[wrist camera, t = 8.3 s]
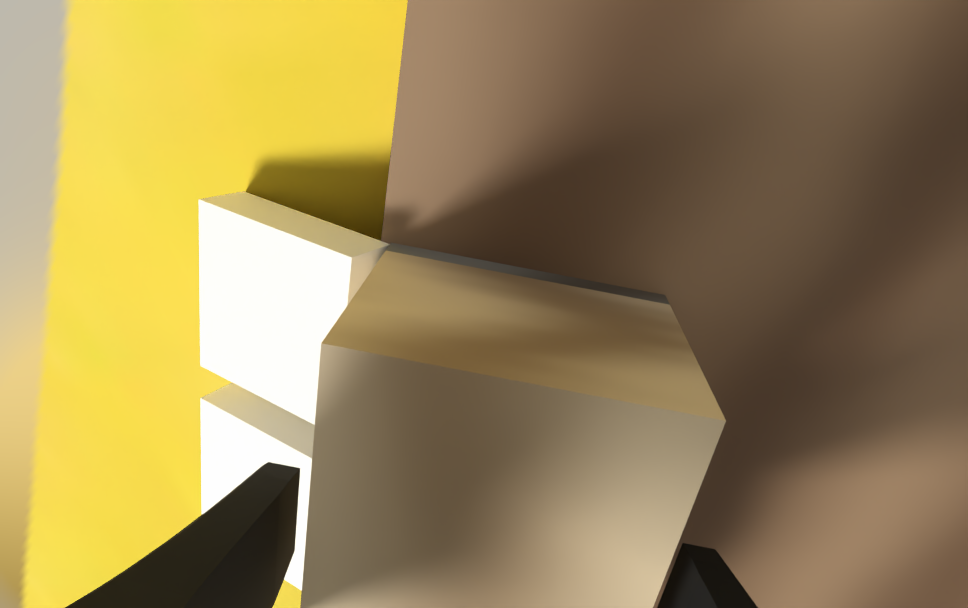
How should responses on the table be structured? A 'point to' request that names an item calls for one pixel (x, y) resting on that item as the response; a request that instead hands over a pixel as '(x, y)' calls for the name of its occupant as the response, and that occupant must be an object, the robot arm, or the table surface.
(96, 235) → the table surface
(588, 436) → the block
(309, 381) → the paint flake
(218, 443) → the paint flake
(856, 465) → the walnut board
